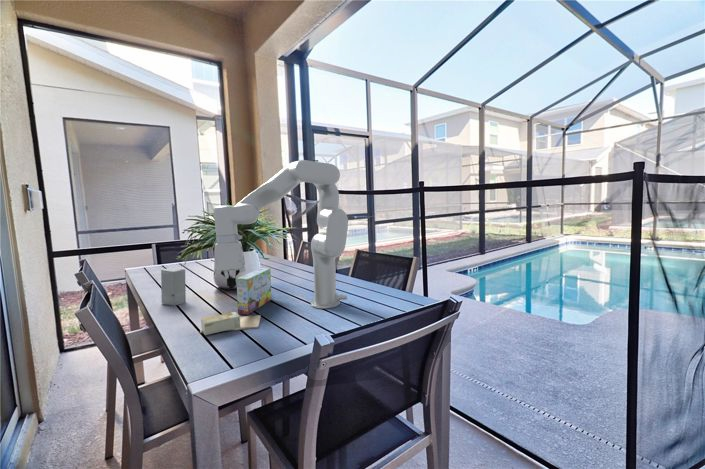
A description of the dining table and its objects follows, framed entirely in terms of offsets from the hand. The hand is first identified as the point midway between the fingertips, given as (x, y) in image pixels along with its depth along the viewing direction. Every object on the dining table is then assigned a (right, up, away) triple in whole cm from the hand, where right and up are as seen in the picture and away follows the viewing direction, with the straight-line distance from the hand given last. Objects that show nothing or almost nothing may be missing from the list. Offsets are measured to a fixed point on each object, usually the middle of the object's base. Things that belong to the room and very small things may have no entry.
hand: (232, 287), depth 128 cm
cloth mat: (0, -14, +1) cm, 14 cm away
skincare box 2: (+3, -11, -1) cm, 12 cm away
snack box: (+3, -12, +22) cm, 25 cm away
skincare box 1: (-36, -12, +29) cm, 48 cm away
